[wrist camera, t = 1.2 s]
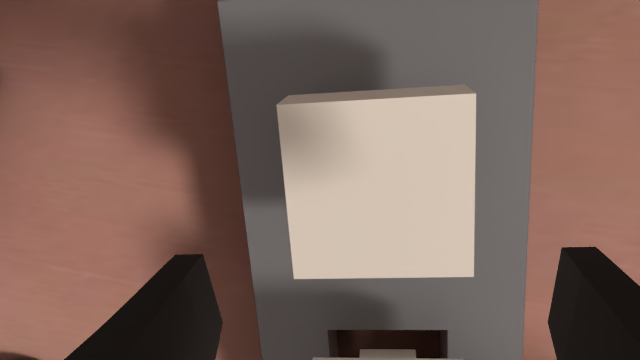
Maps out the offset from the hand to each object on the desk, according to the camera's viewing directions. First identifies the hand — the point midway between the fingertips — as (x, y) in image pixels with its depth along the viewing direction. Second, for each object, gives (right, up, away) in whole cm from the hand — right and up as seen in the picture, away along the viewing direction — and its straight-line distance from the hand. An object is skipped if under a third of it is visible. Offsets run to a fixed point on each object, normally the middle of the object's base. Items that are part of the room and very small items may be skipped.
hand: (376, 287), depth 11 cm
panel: (+2, -1, +13) cm, 13 cm away
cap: (+1, +3, +9) cm, 10 cm away
